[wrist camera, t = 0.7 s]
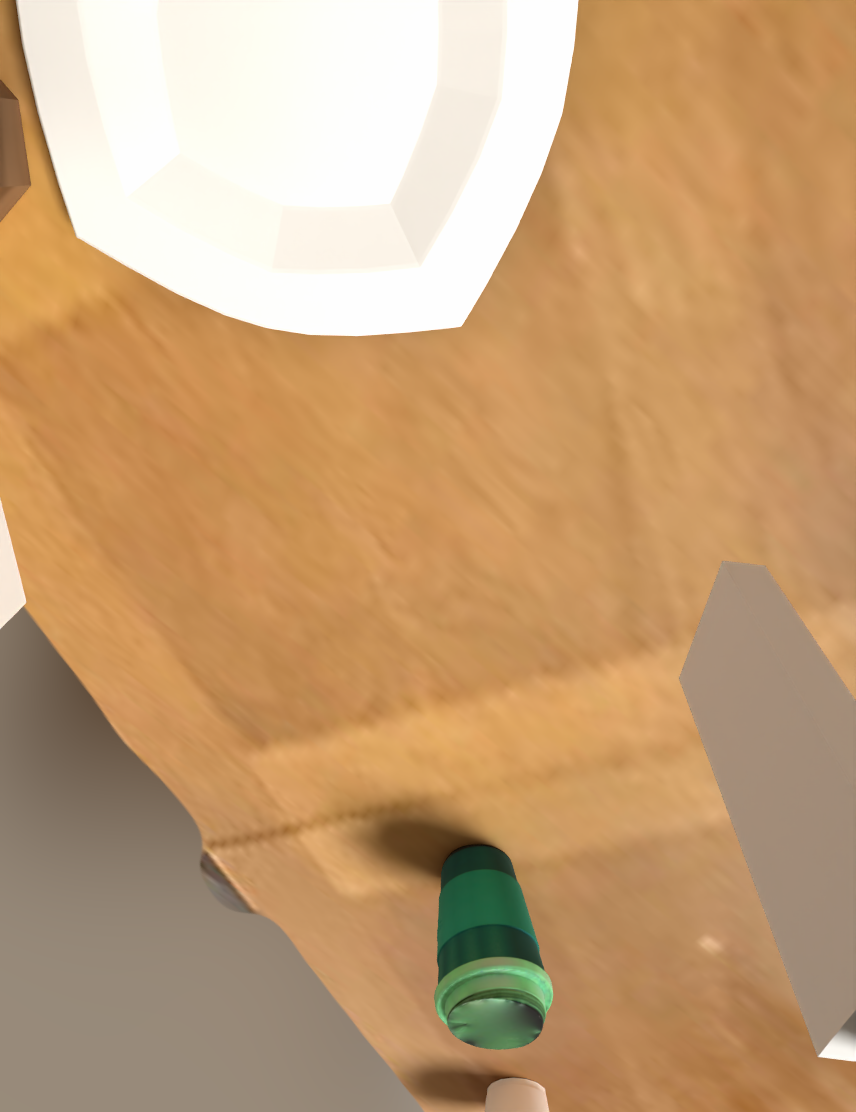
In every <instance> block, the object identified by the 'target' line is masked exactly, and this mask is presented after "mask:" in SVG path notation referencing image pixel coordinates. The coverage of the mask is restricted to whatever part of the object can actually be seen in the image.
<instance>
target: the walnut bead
mask: <svg viewBox="0 0 856 1112" xmlns="http://www.w3.org/2000/svg"><path fill="white" fill-rule="evenodd" d="M30 186H31V182H30V175H29V169H28V162H27V155H26V149H25V142H24V135H23V129H22V122H21V115H20V109H19V102H18V99H17V98H16V97H15V96H14V95H13V94H12V92H11V91H10V90H9V89H8V88H7V87H6V86H5V85H4V83H3V82H2V81H1V80H0V222H1V220H2V219H3V218H4V217H5V216H6V214H7V213H8V212H9V211H10V210H11V208H12V207H13V206H14V205H15V204H16V202H17V201H18V200H19V199H20V198H21V196H22V195H23V194H24V193H25V192H26V191H27V189H28V188H29V187H30Z"/></svg>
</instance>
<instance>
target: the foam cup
mask: <svg viewBox="0 0 856 1112" xmlns="http://www.w3.org/2000/svg"><path fill="white" fill-rule="evenodd" d="M485 1112H549V1109H548V1103H547V1098H546V1093H545V1089H544V1088H543V1087H542V1086H541V1085H540V1084H539V1083H537V1082H534V1081H531V1080H528V1079H522V1078H506V1079H500V1080H498V1081H495V1082H493V1083H491V1085H490V1086H489V1087H488V1089H487V1096H486V1104H485Z"/></svg>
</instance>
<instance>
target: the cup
mask: <svg viewBox="0 0 856 1112" xmlns="http://www.w3.org/2000/svg"><path fill="white" fill-rule="evenodd" d="M437 941H438V950H437V963H438V967H439V973H438V986H437V988H436V990H435V995H434V1000H435V1007H436V1011H437V1013H438V1015H439V1017H440V1019H441V1020H442V1021H443V1022H444V1023H445V1024H446V1025H448V1027H449V1029H450V1031H451V1032H452V1034H453V1035H454V1036H456V1037H457V1038H458V1039H460V1040H461V1041H463V1042H465V1043H467V1044H470V1045H473V1046H476V1047H480V1048H486V1049H497V1050H500V1049H511V1048H518V1047H522V1046H525V1045H527V1044H529V1043H531V1042H532V1041H534V1040H535V1039H536V1038H537V1037H538V1036H539V1034H540V1033H541V1031H542V1028H543V1024H544V1021H545V1018H546V1012H547V1011H548V1009H549V1007H550V1005H551V1003H552V999H553V990H552V983H551V980H550V978H549V976H548V974H547V973H546V972H545V970H544V967H543V964H542V961H541V958H540V954H539V945H538V942H537V939H536V935H535V932H534V929H533V926H532V922H531V919H530V916H529V913H528V909H527V906H526V903H525V900H524V896H523V893H522V890H521V887H520V885H519V883H518V882H517V879H516V875H515V872H514V869H513V865H512V863H511V860H510V859H509V857H508V856H507V855H506V854H505V853H504V852H502V851H501V850H499V849H497V848H494V847H491V846H487V845H468V846H464V847H461V848H459V849H457V850H455V851H454V852H452V853H451V854H450V856H449V857H448V858H447V860H446V861H445V863H444V865H443V867H442V872H441V893H440V896H439V917H438V930H437Z"/></svg>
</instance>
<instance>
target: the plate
mask: <svg viewBox="0 0 856 1112" xmlns="http://www.w3.org/2000/svg"><path fill="white" fill-rule="evenodd" d="M16 5H17V12H18V19H19V25H20V32H21V39H22V45H23V50H24V54H25V59H26V63H27V67H28V72H29V76H30V80H31V85H32V89H33V94H34V98H35V102H36V107H37V111H38V115H39V118H40V122H41V125H42V129H43V132H44V136H45V139H46V142H47V146H48V149H49V153H50V156H51V160H52V163H53V167H54V170H55V174H56V177H57V181H58V184H59V187H60V190H61V193H62V196H63V199H64V202H65V205H66V208H67V211H68V214H69V217H70V220H71V223H72V226H73V229H74V232H75V235H76V237H77V238H79V239H81V240H83V241H84V242H86V243H88V244H89V245H91V246H93V247H95V248H96V249H98V250H100V251H101V252H103V253H105V254H107V255H108V256H110V257H112V258H113V259H115V260H117V261H119V262H120V263H122V264H124V265H125V266H127V267H129V268H131V269H133V270H134V271H136V272H138V273H140V274H142V275H144V276H145V277H147V278H149V279H151V280H153V281H155V282H156V283H158V284H160V285H162V286H164V287H165V288H167V289H169V290H171V291H173V292H175V293H176V294H179V295H181V296H183V297H185V298H188V299H190V300H192V301H194V302H196V303H199V304H201V305H203V306H205V307H208V308H210V309H212V310H214V311H217V312H219V313H221V314H223V315H226V316H229V317H233V318H236V319H239V320H242V321H246V322H249V323H252V324H255V325H259V326H262V327H265V328H270V329H276V330H282V331H289V332H295V333H302V334H308V335H345V336H363V335H377V334H391V333H405V332H416V331H425V330H435V329H445V328H454V327H461V326H462V324H463V323H464V321H465V319H466V318H467V316H468V314H469V313H470V311H471V309H472V308H473V306H474V304H475V303H476V301H477V299H478V298H479V296H480V294H481V293H482V291H483V289H484V288H485V286H486V284H487V283H488V281H489V279H490V277H491V275H492V273H493V271H494V269H495V268H496V266H497V264H498V262H499V260H500V258H501V256H502V254H503V253H504V251H505V249H506V247H507V245H508V243H509V241H510V240H511V238H512V236H513V234H514V232H515V230H516V228H517V226H518V224H519V222H520V219H521V217H522V215H523V213H524V211H525V208H526V206H527V204H528V202H529V199H530V197H531V195H532V193H533V191H534V188H535V186H536V184H537V182H538V180H539V177H540V175H541V173H542V170H543V167H544V164H545V161H546V158H547V156H548V153H549V150H550V147H551V144H552V141H553V139H554V136H555V133H556V130H557V127H558V124H559V121H560V119H561V116H562V111H563V106H564V100H565V94H566V89H567V83H568V78H569V72H570V66H571V61H572V55H573V49H574V40H575V30H576V19H577V9H578V0H16Z"/></svg>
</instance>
